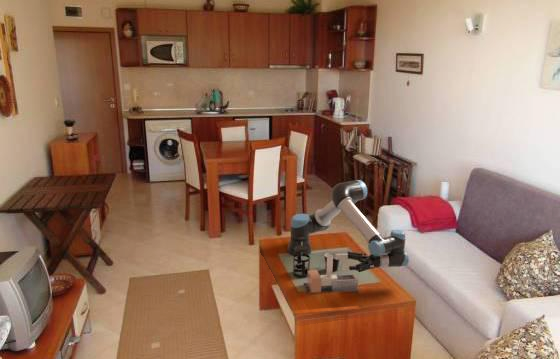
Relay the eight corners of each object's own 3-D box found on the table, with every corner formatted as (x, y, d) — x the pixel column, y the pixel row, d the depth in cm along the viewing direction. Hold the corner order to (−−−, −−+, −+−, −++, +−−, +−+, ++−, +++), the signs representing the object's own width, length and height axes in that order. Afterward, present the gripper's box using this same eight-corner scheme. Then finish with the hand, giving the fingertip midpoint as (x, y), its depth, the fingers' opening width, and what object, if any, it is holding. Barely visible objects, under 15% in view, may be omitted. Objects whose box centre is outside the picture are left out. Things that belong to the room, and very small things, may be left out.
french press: (311, 280, 245) (313, 241, 239) (295, 282, 243) (295, 242, 237) (306, 271, 256) (307, 233, 250) (290, 272, 254) (290, 234, 249)
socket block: (307, 283, 238) (307, 270, 236) (316, 283, 238) (316, 269, 237) (311, 292, 228) (311, 279, 226) (320, 292, 229) (321, 278, 227)
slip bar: (313, 282, 235) (313, 254, 231) (335, 281, 237) (336, 253, 233) (314, 286, 231) (315, 257, 227) (337, 285, 233) (338, 256, 229)
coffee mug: (338, 275, 251) (339, 259, 248) (323, 274, 252) (323, 257, 250) (340, 267, 262) (340, 251, 259) (325, 265, 263) (325, 249, 261)
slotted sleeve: (303, 285, 239) (303, 274, 237) (352, 282, 243) (352, 271, 241) (307, 296, 227) (308, 285, 226) (359, 293, 231) (359, 281, 230)
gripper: (386, 277, 223) (345, 279, 220) (370, 257, 247) (332, 259, 244) (387, 263, 221) (346, 265, 219) (371, 244, 245) (333, 246, 242)
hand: (339, 262), depth 231 cm, fingers open, 13 cm apart
